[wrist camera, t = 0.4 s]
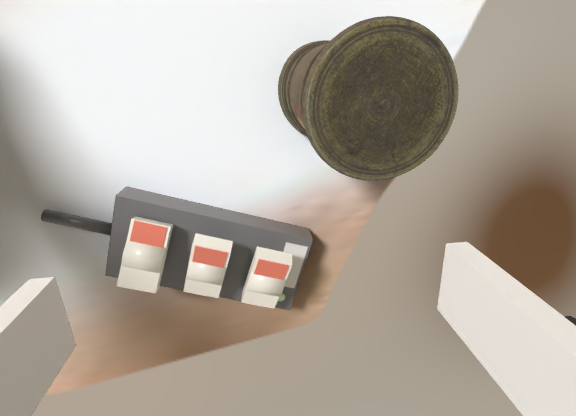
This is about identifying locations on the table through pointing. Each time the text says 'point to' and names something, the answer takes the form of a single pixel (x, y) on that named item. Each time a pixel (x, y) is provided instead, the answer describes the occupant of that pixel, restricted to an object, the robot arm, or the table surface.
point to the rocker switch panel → (185, 225)
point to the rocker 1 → (144, 255)
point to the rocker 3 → (266, 277)
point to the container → (372, 96)
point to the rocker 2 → (207, 265)
